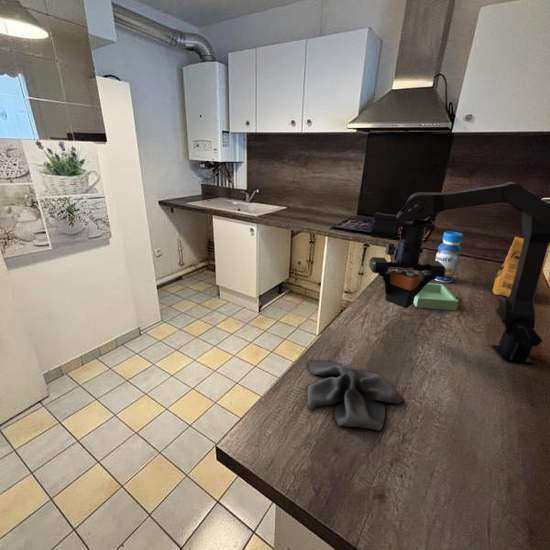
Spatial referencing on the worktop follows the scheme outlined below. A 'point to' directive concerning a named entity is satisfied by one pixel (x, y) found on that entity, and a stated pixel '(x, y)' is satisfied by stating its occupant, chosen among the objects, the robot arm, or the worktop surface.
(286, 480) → the worktop surface
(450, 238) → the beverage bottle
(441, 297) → the tray
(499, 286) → the coffee package
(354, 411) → the cloth
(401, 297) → the battery
